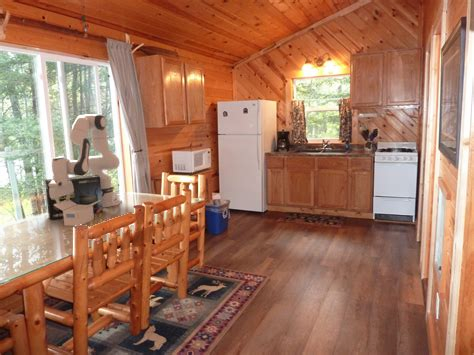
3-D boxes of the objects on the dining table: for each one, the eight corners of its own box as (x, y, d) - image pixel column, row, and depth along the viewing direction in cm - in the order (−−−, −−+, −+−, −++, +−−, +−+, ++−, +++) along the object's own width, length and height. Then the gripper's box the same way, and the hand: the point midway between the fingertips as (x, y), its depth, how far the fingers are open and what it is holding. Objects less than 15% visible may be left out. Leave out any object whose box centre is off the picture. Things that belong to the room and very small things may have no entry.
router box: (50, 220, 248) (45, 181, 243) (47, 217, 257) (43, 179, 253) (104, 212, 267) (101, 176, 263) (100, 209, 277) (97, 174, 272)
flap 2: (100, 199, 245) (100, 200, 245) (92, 204, 247) (93, 205, 247) (87, 205, 231) (88, 206, 231) (79, 210, 232) (79, 211, 232)
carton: (79, 218, 252) (78, 204, 250) (94, 219, 250) (93, 204, 248) (63, 226, 235) (62, 211, 233) (79, 226, 233) (77, 211, 231)
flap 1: (76, 204, 249) (76, 204, 249) (68, 199, 249) (68, 199, 249) (62, 210, 234) (62, 210, 235) (53, 204, 235) (53, 205, 235)
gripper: (66, 178, 250) (68, 198, 253) (46, 184, 230) (48, 205, 233) (75, 178, 249) (77, 198, 251) (55, 184, 229) (57, 206, 232)
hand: (63, 202), depth 242 cm, fingers open, 8 cm apart
